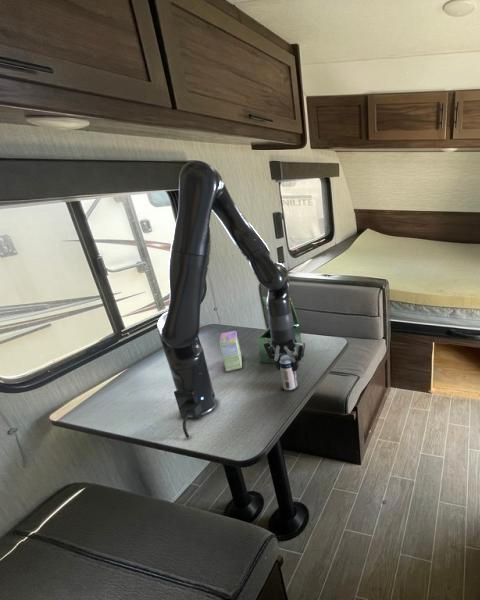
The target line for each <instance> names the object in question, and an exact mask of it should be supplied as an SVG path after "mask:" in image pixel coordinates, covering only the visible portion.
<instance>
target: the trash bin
mask: <svg viewBox="0 0 480 600" xmlns="http://www.w3.org/2000/svg"><path fill="white" fill-rule="evenodd" d="M294 330H295V339H296V341H297V343H301V344H302V343H303V342H302V334H301V327H300V324H299V325H298V324H294ZM267 341H272V339H271V334H270V327H269V326H268V327H267V329H266V330H264V331H263V332H262V333H261V334H260V335H259V336H258V337H257V338H256V342H257V346H258V353H259V358H260V363H267V364H276V362H275V360H274V359H270V358H269V356H268V354H267V352H266V350H265V347H264V344H265V343H266V342H267ZM273 349H274V351H275V352H276V349H275V348H274V346H273ZM295 349H296V353H297V354H298V350H297V346H295ZM284 355H288V354H286V353H282V354H281V357H282V356H284ZM281 357H280V358H281Z"/></svg>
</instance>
